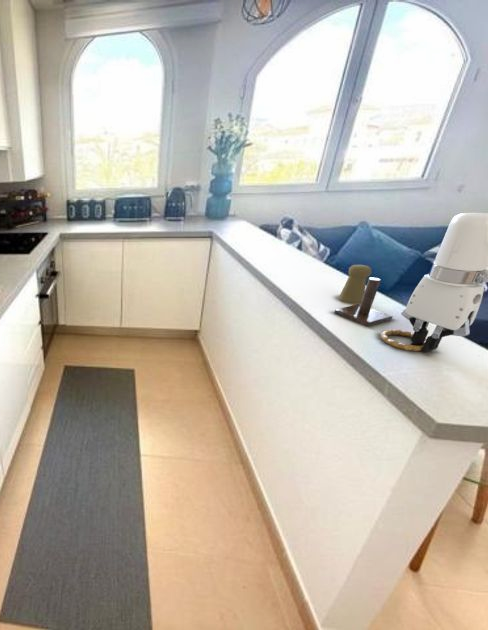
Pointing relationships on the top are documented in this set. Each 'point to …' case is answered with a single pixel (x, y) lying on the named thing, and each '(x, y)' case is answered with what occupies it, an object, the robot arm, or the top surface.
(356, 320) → the rack
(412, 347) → the ring
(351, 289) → the cork
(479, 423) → the top surface
